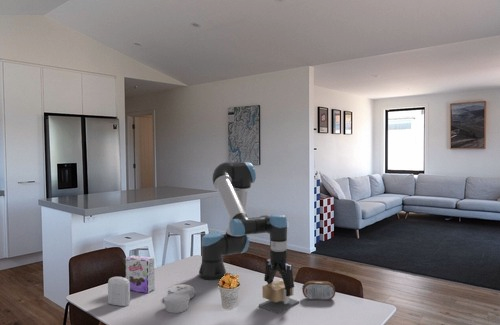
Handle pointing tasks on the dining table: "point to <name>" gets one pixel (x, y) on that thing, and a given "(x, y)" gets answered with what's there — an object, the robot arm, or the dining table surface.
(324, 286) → the tin
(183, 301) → the ramekin
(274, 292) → the oak block
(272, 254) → the robot arm
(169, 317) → the dining table surface
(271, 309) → the charcoal mat
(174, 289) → the lid
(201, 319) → the dining table surface
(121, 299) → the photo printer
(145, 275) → the candy box
